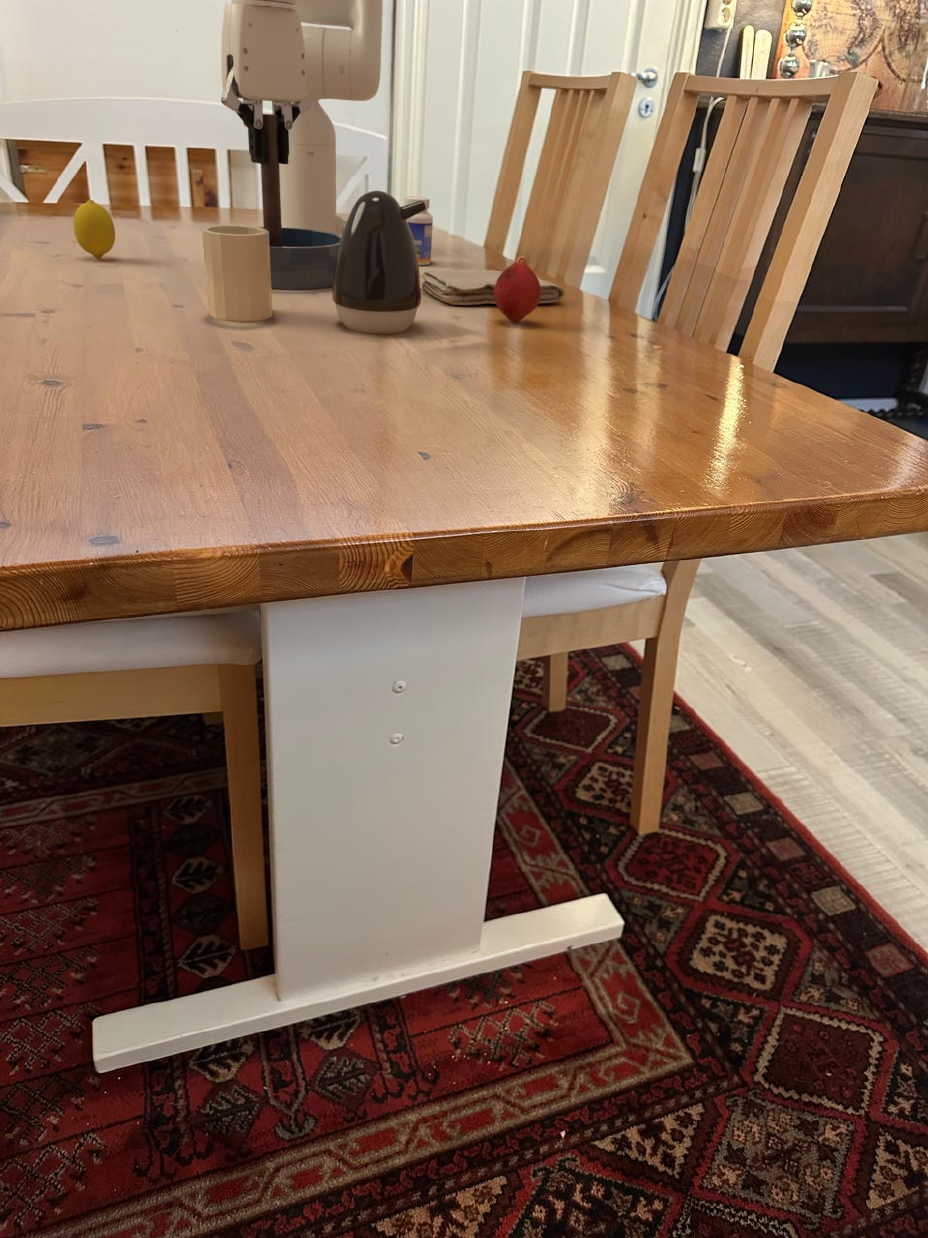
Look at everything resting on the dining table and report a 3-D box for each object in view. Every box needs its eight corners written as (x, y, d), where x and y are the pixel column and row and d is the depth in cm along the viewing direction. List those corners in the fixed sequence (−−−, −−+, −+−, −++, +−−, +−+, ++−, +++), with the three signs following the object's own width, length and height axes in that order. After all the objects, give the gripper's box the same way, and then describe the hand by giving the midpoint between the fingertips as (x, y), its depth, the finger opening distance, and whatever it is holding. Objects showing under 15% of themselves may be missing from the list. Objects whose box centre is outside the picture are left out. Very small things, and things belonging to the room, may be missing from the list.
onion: (505, 329, 111) (511, 260, 107) (483, 318, 115) (488, 252, 111) (545, 327, 114) (552, 260, 110) (522, 316, 118) (528, 251, 114)
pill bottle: (391, 262, 145) (393, 196, 140) (406, 258, 150) (408, 194, 145) (422, 267, 144) (425, 200, 139) (436, 262, 148) (439, 197, 143)
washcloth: (415, 288, 129) (416, 265, 127) (528, 287, 135) (530, 265, 133) (444, 307, 120) (445, 283, 118) (564, 305, 126) (567, 282, 124)
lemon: (110, 263, 130) (102, 203, 126) (72, 260, 130) (63, 200, 126) (123, 257, 135) (116, 198, 131) (86, 254, 135) (78, 195, 131)
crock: (251, 311, 111) (246, 223, 105) (284, 324, 106) (280, 233, 101) (198, 317, 106) (190, 226, 101) (229, 330, 102) (223, 236, 97)
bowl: (302, 266, 137) (301, 224, 134) (372, 288, 127) (372, 243, 124) (197, 275, 127) (193, 229, 124) (264, 300, 116) (261, 251, 113)
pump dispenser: (428, 344, 102) (434, 198, 95) (336, 343, 100) (335, 193, 92) (414, 322, 111) (418, 187, 103) (329, 321, 109) (327, 182, 101)
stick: (276, 260, 126) (270, 113, 117) (286, 263, 124) (281, 115, 115) (261, 261, 124) (254, 112, 115) (271, 264, 123) (265, 114, 114)
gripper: (301, 0, 116) (304, 160, 125) (186, -15, 106) (199, 159, 115) (335, 0, 111) (336, 166, 121) (219, -16, 101) (230, 166, 111)
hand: (269, 161), depth 118 cm, fingers closed on stick, 2 cm apart
